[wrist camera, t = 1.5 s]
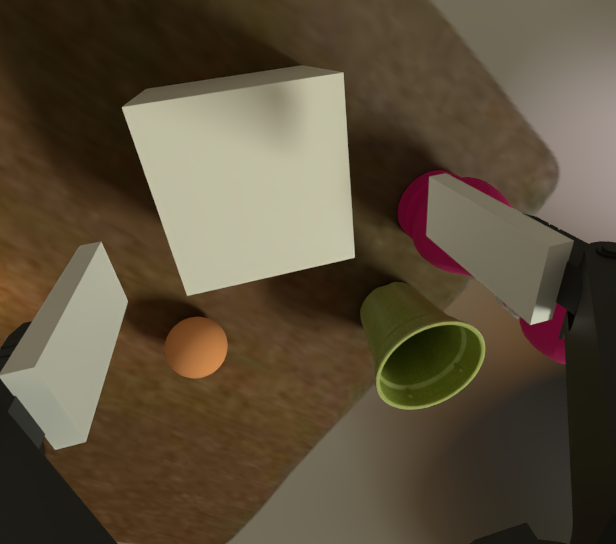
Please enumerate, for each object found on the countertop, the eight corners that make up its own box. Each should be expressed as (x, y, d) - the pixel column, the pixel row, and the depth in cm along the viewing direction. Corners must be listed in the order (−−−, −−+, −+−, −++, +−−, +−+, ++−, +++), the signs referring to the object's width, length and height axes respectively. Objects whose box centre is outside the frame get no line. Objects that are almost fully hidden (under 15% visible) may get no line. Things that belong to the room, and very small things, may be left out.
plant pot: (398, 353, 42) (440, 417, 34) (325, 332, 38) (355, 400, 31) (449, 283, 38) (507, 338, 31) (375, 252, 35) (421, 307, 27)
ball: (176, 356, 35) (173, 398, 31) (159, 312, 32) (152, 352, 28) (231, 342, 36) (235, 382, 32) (218, 299, 33) (220, 335, 29)
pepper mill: (477, 161, 32) (774, 285, 16) (458, 239, 36) (682, 408, 19) (397, 164, 31) (632, 306, 14) (386, 246, 34) (562, 435, 18)
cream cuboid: (190, 233, 30) (187, 295, 22) (145, 88, 24) (121, 107, 17) (318, 207, 31) (354, 257, 24) (302, 65, 26) (343, 72, 18)
